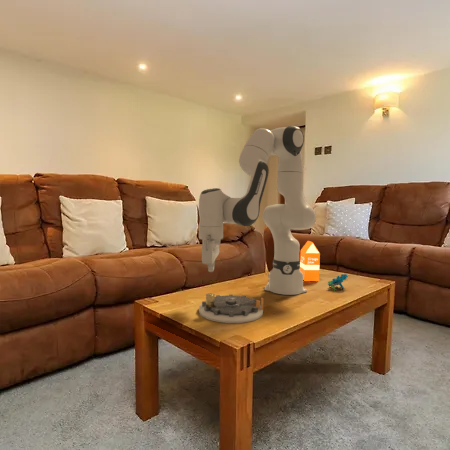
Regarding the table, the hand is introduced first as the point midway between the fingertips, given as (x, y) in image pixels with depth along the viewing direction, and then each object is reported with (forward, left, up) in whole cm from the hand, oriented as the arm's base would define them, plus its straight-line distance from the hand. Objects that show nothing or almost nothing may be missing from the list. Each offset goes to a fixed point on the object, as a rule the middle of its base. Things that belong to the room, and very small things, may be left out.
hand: (211, 271), depth 121 cm
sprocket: (+1, +8, -12) cm, 15 cm away
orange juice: (-56, +44, -14) cm, 72 cm away
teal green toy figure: (-40, +54, -15) cm, 69 cm away
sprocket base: (+1, +8, -14) cm, 16 cm away
